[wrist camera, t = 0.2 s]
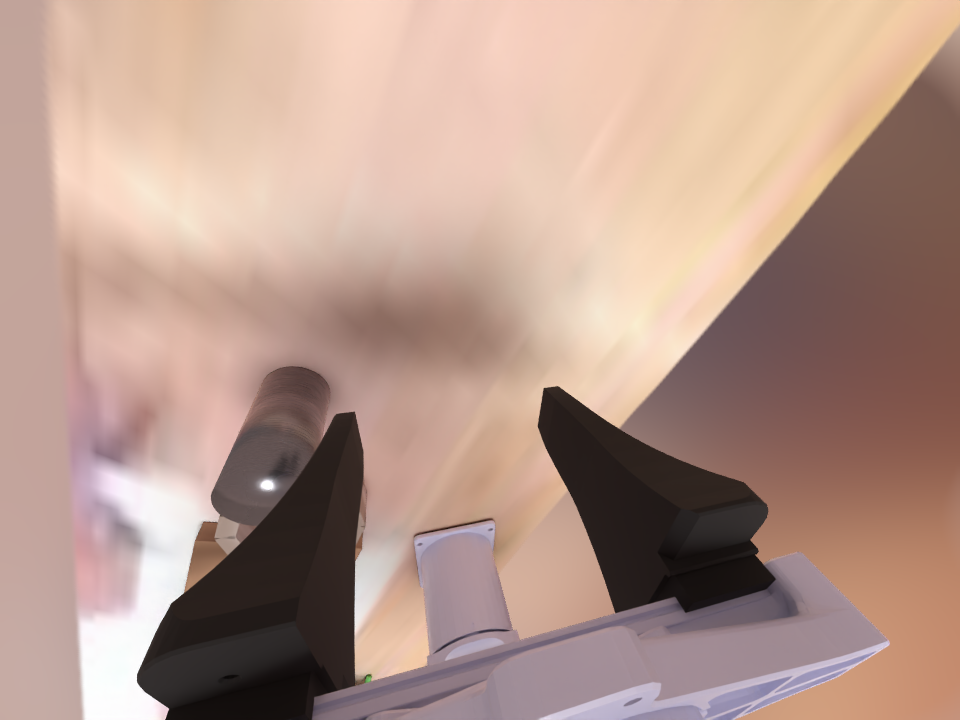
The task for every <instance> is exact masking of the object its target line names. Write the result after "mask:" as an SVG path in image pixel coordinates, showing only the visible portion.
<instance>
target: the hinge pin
mask: <svg viewBox="0 0 960 720" xmlns="http://www.w3.org/2000/svg"><path fill="white" fill-rule="evenodd" d="M329 398H330V389H329V386H328V384H327V382H326V381H325V380H324V379H323V378H322V377H321V376H320V375H319V374H317V373H315V372H314V371H311V370H309V369H306V368H301V367H284V368H280V369H277V370H275V371H273V372H271V373H270V374H269V375H268V376H267V377H266V378H265V379H264V380H263V382H262V385H261V387H260V389H259V391H258V393H257V395H256V398H255V400H254V402H253V404H252V406H251V408H250V411H249V413H248V415H247V417H246V419H245V422H244V424H243V426H242V428H241V430H240V432H239V435H238V437H237V439H236V441H235V443H234V445H233V448H232V450H231V452H230V454H229V456H228V459H227V461H226V463H225V465H224V467H223V469H222V472H221V474H220V476H219V478H218V480H217V482H216V485H215V487H214V489H213V491H212V495H211V501H212V505H213V507H214V508H215V510H216V511H217V512H218V513H219V514H220V515H222V516H223V517H225V518H227V519H229V520H231V521H233V522H236V523H240V524H244V525H251V526H258V525H259V523H260V522H261V521H262V520H263V519H264V518H265V517H266V516H267V515H268V514H269V512H270V511H271V510H272V509H273V508H274V507H275V506H276V504H277V503H278V502H279V501H280V499H281V498H282V497H283V496H284V495H285V493H286V492H287V491H288V489H289V488H290V487H291V486H292V484H293V483H294V482H295V480H296V479H297V477H298V476H299V474H300V473H301V472H302V470H303V469H304V467H305V466H306V464H307V463H308V461H309V460H310V458H311V457H312V455H313V454H314V452H315V450H316V449H317V447H318V445H319V444H320V442H321V440H322V436H323V431H324V425H325V420H326V414H327V409H328V404H329Z"/></svg>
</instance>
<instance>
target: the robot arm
mask: <svg viewBox="0 0 960 720" xmlns="http://www.w3.org/2000/svg"><path fill="white" fill-rule="evenodd" d="M538 428H539V431H540V434H541V437H542V439H543V442H544V445H545V447H546V449H547V451H548V453H549V455H550V457H551V459H552V461H553V463H554V465H555V467H556V468H557V470H558V472H559V474H560V476H561V478H562V480H563V481H564V483H565V485H566V487H567V489H568V491H569V492H570V494H571V496H572V498H573V500H574V502H575V504H576V506H577V509H578V511H579V514H580V516H581V519H582V521H583V523H584V526H585V528H586V531H587V533H588V536H589V539H590V541H591V544H592V546H593V549H594V551H595V554H596V557H597V560H598V563H599V565H600V568H601V571H602V574H603V577H604V580H605V583H606V586H607V589H608V592H609V595H610V598H611V601H612V604H613V607H614V610H615V614H612V615H608V616H604V617H601V618H597V619H594V620H590V621H586V622H583V623H579V624H576V625H572V626H568V627H565V628H562V629H558V630H554V631H551V632H547V633H543V634H540V635H536V636H533V637H529V638H525V639H522V640H519V636H518V632H517V630H513V629H512V625H511V621H510V617H509V613H508V609H507V606H506V602H505V598H504V594H503V590H502V587H501V583H500V579H499V575H498V571H497V568H496V564H495V560H494V556H493V549H494V537H495V522H494V521H492V520H490V521H485V522H480V523H475V524H470V525H465V526H460V527H456V528H451V529H446V530H441V531H436V532H431V533H426V534H421V535H417V536H415V538H414V545H415V553H416V560H417V567H418V574H419V581H420V587H422V588H423V590H424V601H425V611H426V622H427V633H428V643H429V654H430V655H429V656H427V662H428V666H425V667H421V668H418V669H414V670H411V671H407V672H403V673H400V674H396V675H393V676H389V677H385V678H382V679H378V680H375V681H371V682H368V683H364V684H360V685H357V686H355V652H354V604H355V550H356V537H357V529H358V520H359V512H360V504H361V495H362V487H363V470H364V464H363V448H362V443H361V438H360V434H359V429H358V424H357V420H356V415H355V412H349V413H341V414H336V415H335V416H334V418H333V420H332V422H331V424H330V426H329V428H328V430H327V432H326V433H325V435H324V437H323V439H322V440H321V442H320V444H319V445H318V447H317V449H316V450H315V452H314V454H313V455H312V457H311V458H310V460H309V461H308V463H307V464H306V466H305V467H304V469H303V470H302V472H301V473H300V474H299V476H298V477H297V479H296V480H295V482H294V483H293V484H292V486H291V487H290V488H289V489H288V491H287V492H286V493H285V495H284V496H283V497H282V498H281V499H280V501H279V502H278V503H277V504H276V506H275V507H274V508H273V509H272V510H271V511H270V512H269V514H268V515H267V516H266V517H265V518H264V519H263V520H262V521H261V522H260V523H259V525H258V526H257V527H256V528H255V529H254V530H253V531H252V532H251V533H250V534H249V535H248V536H247V537H246V538H245V539H244V540H243V541H242V542H241V543H240V544H239V545H238V546H237V547H236V548H235V549H234V550H233V551H232V552H231V553H230V554H228V555H227V556H226V557H225V558H224V559H223V560H222V561H221V562H220V563H219V564H218V565H217V566H216V567H215V568H213V569H212V570H211V571H210V572H209V573H208V574H206V575H205V576H204V577H203V578H202V579H200V580H199V581H198V582H197V583H196V584H195V585H193V586H192V587H191V588H190V589H189V590H187V591H186V592H185V593H184V594H183V595H181V596H180V597H179V598H178V599H176V600H175V601H174V602H173V603H171V605H170V607H169V609H168V611H167V613H166V615H165V616H164V618H163V620H162V621H161V623H160V625H159V627H158V629H157V631H156V633H155V635H154V638H153V640H152V642H151V644H150V647H149V649H148V651H147V653H146V656H145V658H144V660H143V662H142V665H141V667H140V669H139V671H138V674H137V683H138V684H139V686H140V687H141V688H142V689H143V690H144V691H145V692H146V693H147V694H149V695H150V696H152V697H153V698H155V699H156V700H157V701H159V702H160V703H162V704H163V705H165V706H166V707H168V708H169V711H168V714H167V717H166V719H165V720H735V719H737V718H739V717H742V716H744V715H746V714H749V713H751V712H753V711H756V710H758V709H760V708H763V707H765V706H767V705H770V704H772V703H775V702H777V701H779V700H782V699H784V698H786V697H789V696H791V695H794V694H796V693H799V692H801V691H804V690H806V689H809V688H811V687H814V686H817V685H819V684H822V683H824V682H827V681H830V680H832V679H835V678H837V677H839V676H840V675H842V674H843V673H845V672H847V671H848V670H850V669H852V668H853V667H855V666H856V665H858V664H860V663H861V662H863V661H864V660H866V659H868V658H869V657H871V656H873V655H874V654H876V653H878V652H879V651H881V650H882V649H884V648H886V647H887V646H889V645H890V643H889V640H888V639H887V638H886V637H885V636H884V635H883V634H882V633H881V632H880V631H879V630H878V629H877V628H876V627H875V626H874V625H873V624H872V623H871V622H870V621H869V620H868V619H867V618H866V617H865V616H864V615H863V614H862V613H861V612H860V611H859V610H858V609H857V608H856V607H855V606H854V605H853V604H852V603H851V602H850V601H849V600H848V599H847V598H846V597H845V596H844V595H843V594H842V593H841V592H840V591H839V590H838V589H837V588H836V587H835V586H834V585H833V584H832V583H831V582H830V581H829V580H828V579H827V578H826V577H825V576H824V575H823V574H822V573H821V572H820V571H819V569H818V568H817V567H815V566H814V564H813V563H811V562H810V560H809V559H808V558H807V557H806V556H805V555H804V554H803V553H801V552H795V553H791V554H787V555H784V556H780V557H776V558H773V559H771V560H768V561H767V562H765V563H764V564H762V562H761V561H760V560H759V559H758V558H757V557H756V556H755V554H757V553H758V552H759V551H758V548H756V546H755V545H754V544H753V543H752V542H751V541H750V539H751V538H752V537H753V535H754V534H755V533H756V532H757V530H758V529H759V528H760V527H761V525H762V524H763V523H764V521H765V519H766V518H767V514H768V507H767V504H765V503H764V502H763V501H762V500H761V499H760V498H759V497H758V496H757V495H756V494H755V493H754V492H753V491H752V490H751V489H750V488H749V487H748V486H747V485H746V484H745V483H744V482H741V481H738V480H735V479H731V478H728V477H725V476H722V475H718V474H715V473H712V472H709V471H707V470H704V469H701V468H698V467H696V466H693V465H691V464H688V463H686V462H683V461H681V460H678V459H676V458H674V457H672V456H669V455H667V454H665V453H663V452H661V451H658V450H656V449H654V448H652V447H650V446H648V445H646V444H644V443H642V442H641V441H639V440H637V439H635V438H633V437H632V436H630V435H628V434H626V433H625V432H623V431H621V430H620V429H618V428H617V427H615V426H614V425H612V424H610V423H609V422H607V421H606V420H604V419H603V418H601V417H600V416H599V415H597V414H596V413H594V412H593V411H591V410H590V409H589V408H587V407H586V406H584V405H583V404H582V403H580V402H579V401H578V400H576V399H575V398H574V397H572V396H571V395H570V394H568V393H567V392H565V391H564V390H563V389H561V388H560V387H558V386H557V387H549V388H544V390H543V396H542V403H541V409H540V415H539V422H538Z"/></svg>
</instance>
